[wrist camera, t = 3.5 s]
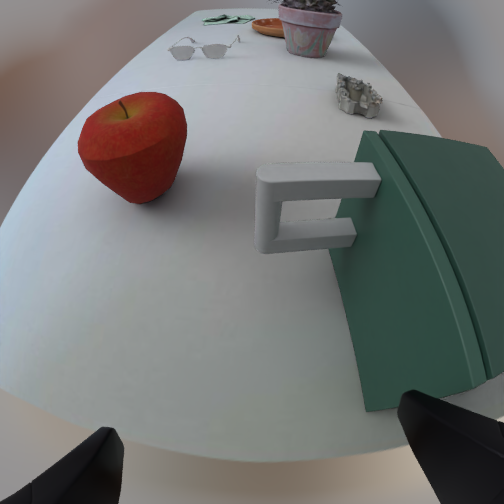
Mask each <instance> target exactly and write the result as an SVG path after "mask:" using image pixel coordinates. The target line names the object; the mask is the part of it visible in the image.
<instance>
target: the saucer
mask: <svg viewBox="0 0 504 504" xmlns="http://www.w3.org/2000/svg"><path fill="white" fill-rule="evenodd" d="M252 28H253V29H255V30H257V31H258V32H260V33H262V34H266V35H270V36H277V37H285V36H284V31H283V26H282V21H281V20H280V19H279V18H271V19H260V20H255V21H253V22H252Z"/></svg>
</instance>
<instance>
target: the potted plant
mask: <svg viewBox="0 0 504 504" xmlns="http://www.w3.org/2000/svg"><path fill="white" fill-rule="evenodd" d="M277 1H278V0H277ZM336 3H337V2H336V1H335V0H284V2H283V4H279V19H280V20H281V21H282V26H283V31H284V36H285V41H286V46H287V51H288V52H289V53H292V54H295V55H299V56H303V57H311V58H320V57H324V55H325V54H326V52H327V49H328V47H329V45H330V42H331V40H332V38H333V36H334V34H335V31H336V29H337V28H339V26H340V22H341V19H342V14H341V13H340V12H338V11H335V10H334V8H335V6H332V5H333V4H336Z"/></svg>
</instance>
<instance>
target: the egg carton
mask: <svg viewBox="0 0 504 504" xmlns="http://www.w3.org/2000/svg"><path fill="white" fill-rule="evenodd" d="M336 93H338V96H337V100H338V101H340V103H339V108H340V109H342V110H344V111H345V112H347V113H348V114H353V113H360V114H363V115H365V117H366V118H370V119H371V118H372V117H376V116H377V113H378V111H379V107H380V106H379V103H382V101H383V100H382V98H381V96H380V95H378V94H377V92H376V91H375V90H374V89H372V86H371V85H370V83H367V84H364V83H363V82H362V80H357V79H355V78H351V77H350V76H348V77H346V76H343V75H342V74H340V73H338V76H337V86H336Z"/></svg>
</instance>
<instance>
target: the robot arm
mask: <svg viewBox="0 0 504 504" xmlns="http://www.w3.org/2000/svg"><path fill="white" fill-rule="evenodd" d="M397 415H398V418H399V420H400V423H401V425H402V427H403V430H404V432H405V435H406V437H407V440H408V442H409V445H410V447H411V449H412V451H413V453H414V455H415V457H416V459H417V461H418V462H419V464H420V466H421V468H422V470H423V471H424V473H425V475H426V477H427V479H428V481H429V482H430V484H431V486H432V488H433V490H434V492H435V494H436V496H437V497H438V499H439V501H440V503H441V504H504V423H503V422H500V421H499V422H498V421H497V420H494V419H491V418H488V417H485V416H483V415H480V414H477V413H474V412H471V411H469V410H466V409H463V408H461V407H458V406H455V405H453V404H450V403H448V402H445V401H443V400H440V399H438V398H435V397H433V396H430V395H428V394H425V393H423V392H420V391H418V390H415V389H412V390H409V391H406V392H404V393H403V394H402V395H401V399H400V402H399V406H398V409H397ZM123 457H124V446H123V443H122V441H121V439H120V437H119V436H118V434H117V432H116V430H115V429H114V428H111V427H101V428H99V429H98V430H97V431H96V432H94V433H93V434H92V435H91V436H89V437H88V438H87V439H86V440H84V441H83V442H82V443H81V444H80V445H78V446H77V447H76V448H75V449H73V450H72V451H71V452H69V453H68V454H67V455H66V456H64V457H63V458H62V459H60V460H59V461H58V462H56V463H55V464H54V465H53V466H51V467H50V468H49V469H47V470H46V471H45V472H43V473H42V474H41V475H39V476H38V477H37V478H36V479H34V480H33V481H32V482H31V483H29V484H27V485H26V486H24V487H23V488H22V489H20V490H19V491H17V492H16V493H15V494H13V495H11V496H9V497H8V498H6V499H4V500H2V501H1V502H0V504H118V503H119V497H120V492H121V484H122V470H123Z"/></svg>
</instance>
